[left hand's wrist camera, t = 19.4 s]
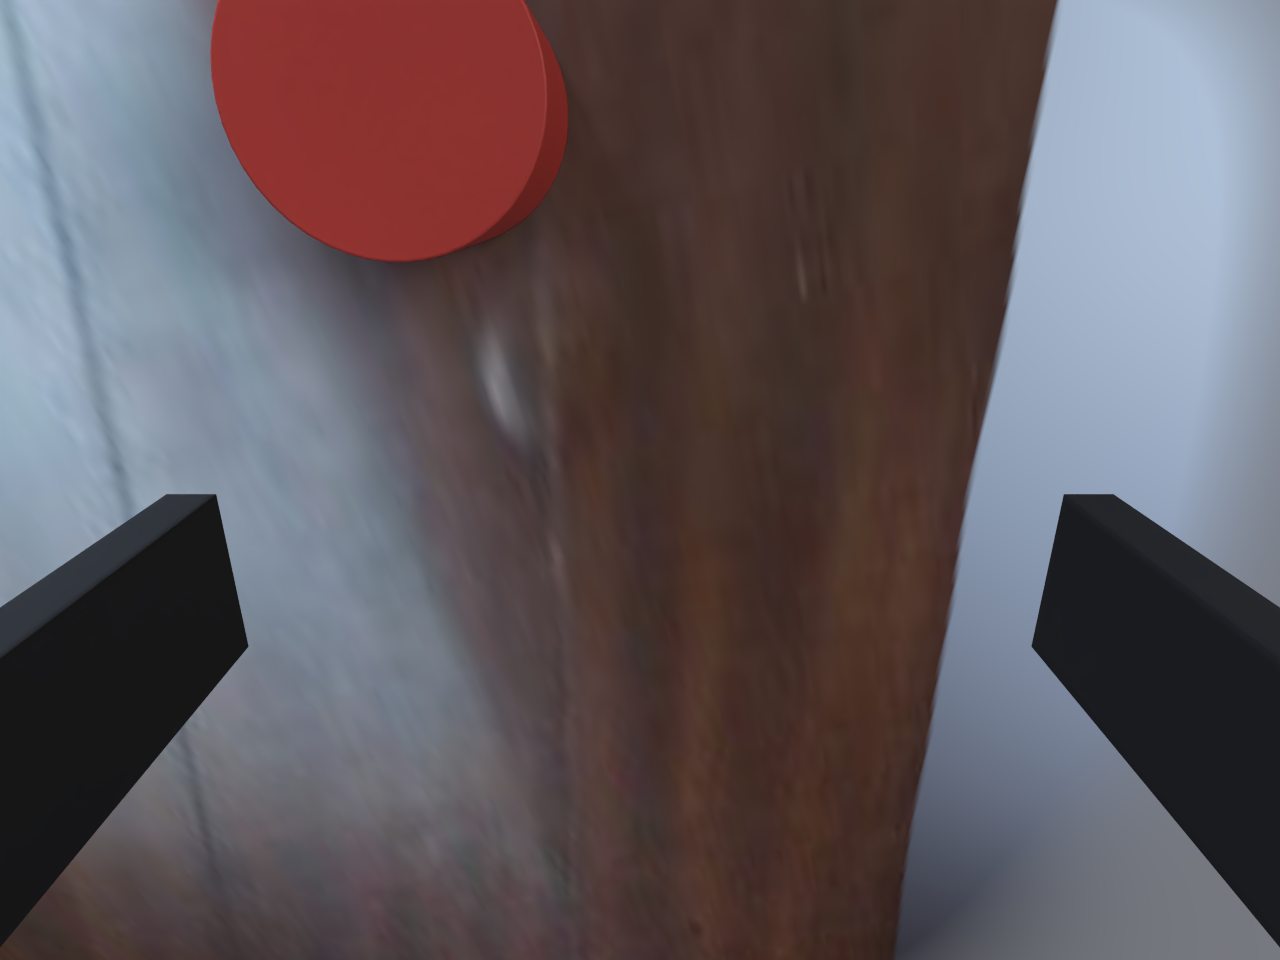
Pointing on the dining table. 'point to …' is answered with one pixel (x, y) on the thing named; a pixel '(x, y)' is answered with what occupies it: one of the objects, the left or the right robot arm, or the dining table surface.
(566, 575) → the dining table surface
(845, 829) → the dining table surface
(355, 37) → the canister
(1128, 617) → the left robot arm
